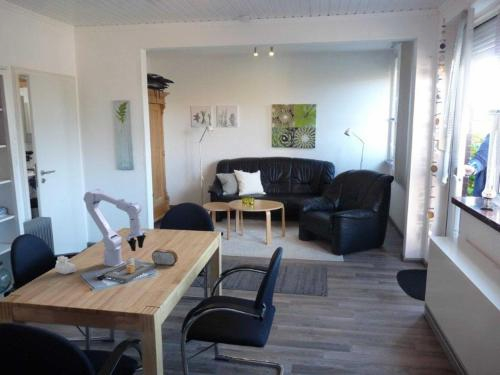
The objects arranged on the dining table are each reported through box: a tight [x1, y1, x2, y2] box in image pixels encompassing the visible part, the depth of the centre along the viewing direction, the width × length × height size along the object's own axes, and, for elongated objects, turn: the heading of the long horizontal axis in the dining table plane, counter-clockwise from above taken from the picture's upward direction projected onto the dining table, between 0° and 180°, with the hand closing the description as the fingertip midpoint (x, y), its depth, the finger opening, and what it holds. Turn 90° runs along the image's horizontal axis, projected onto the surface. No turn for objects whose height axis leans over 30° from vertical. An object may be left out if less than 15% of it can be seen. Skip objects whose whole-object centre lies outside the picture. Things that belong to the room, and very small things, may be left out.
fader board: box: [103, 259, 157, 284], centre depth 218 cm, size 15×23×2 cm, turn 155°
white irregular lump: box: [55, 255, 77, 275], centre depth 218 cm, size 12×8×11 cm
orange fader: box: [126, 264, 135, 273], centre depth 212 cm, size 3×3×4 cm
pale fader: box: [125, 257, 135, 265], centre depth 223 cm, size 3×3×4 cm
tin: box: [151, 248, 179, 266], centre depth 229 cm, size 15×3×8 cm, turn 74°
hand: (137, 249), depth 227 cm, fingers open, 5 cm apart
